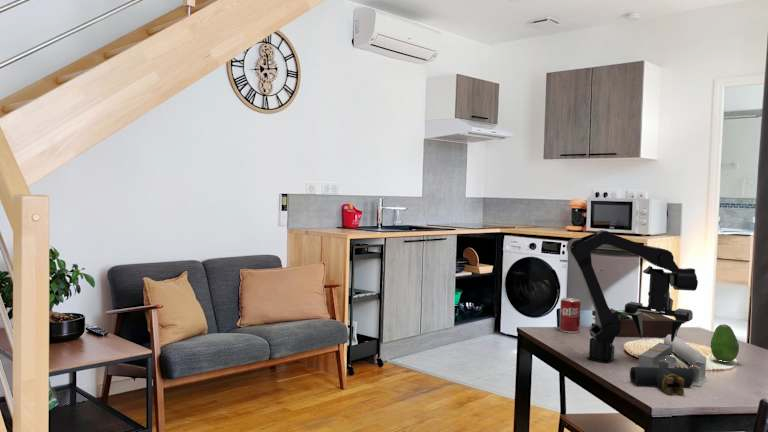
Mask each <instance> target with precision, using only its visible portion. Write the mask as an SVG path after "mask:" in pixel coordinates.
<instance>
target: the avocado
mask: <svg viewBox="0 0 768 432" xmlns="http://www.w3.org/2000/svg"><path fill="white" fill-rule="evenodd" d="M739 349H740V344H739V341H738V339H737V336H736V335H735V333H734V330H733V329H732V327H731V326H730V325H727V324H719V325H718V326H717V327H715V329H714V332H713V333H712V336H711V340H710V351H711V354H712V356H713V357H714V359H716V360H717V361H718V360H722V361H731V362H733V361H734V360H735V359H736V358H737V356H738V355H739V352H740V350H739Z"/></svg>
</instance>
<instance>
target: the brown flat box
mask: <svg viewBox="0 0 768 432" xmlns="http://www.w3.org/2000/svg"><path fill="white" fill-rule="evenodd" d="M614 310H615V311H616V312H617V313H618V318H619V320H620V322H621V323H622V324H620V326H621V331H620V333H619V334H618V335H617V336H616V337H615V338H642V339H643V338H646V339H647V338H649V339H650V338H652V339H653V338H655V339H657V338H658V339H665V338H666V336H667V335H671V333H672V325H673V320H674V319H673V318H671V317H669V316H666V315H660V314H653V313H646V312H641V313H643V317H642V327H643V332H642V336H640V335H639V332H638V330H637V327H636V324H635V322H634V320H633V318H632V316H629V313H626V312H624V310H616V309H614ZM591 313H592V316H593V318H592V319H593V320H594V323H593V322H592V323H591V328H592V327H593V326H595V325H596V324H597V323H596V318H595V310H592V312H591ZM676 336H677V337H678V333H677V334H676Z"/></svg>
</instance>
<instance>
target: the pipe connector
mask: <svg viewBox="0 0 768 432" xmlns="http://www.w3.org/2000/svg"><path fill="white" fill-rule="evenodd" d="M629 380H630V383H631V384H633V385H634V386H648V387H653V386H654V387H659V388H660V389H662V391H663V392H664V393H666V394H667V395H674V394H676V395H683V396H684V395H685V389H684V388H690V387H691V386H693V385H692V374H691V371H690V368H685V367H682V368H681V367H675V368H659V367H658V368H656V367H638V366H632V367H631V368H630V370H629Z"/></svg>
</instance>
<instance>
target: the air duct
mask: <svg viewBox="0 0 768 432" xmlns="http://www.w3.org/2000/svg"><path fill="white" fill-rule="evenodd" d="M670 355H672V356H673V351H672V345H670V344H664V342H663V343H662V342H658V343H657V344H656V345H654V346H652V347H649V349H647V350H645V351H644V352H642V353H641V354H638V361H637V362H638V365H637V367H656V368H659V361H660V360H665V359H666V356H670Z"/></svg>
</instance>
